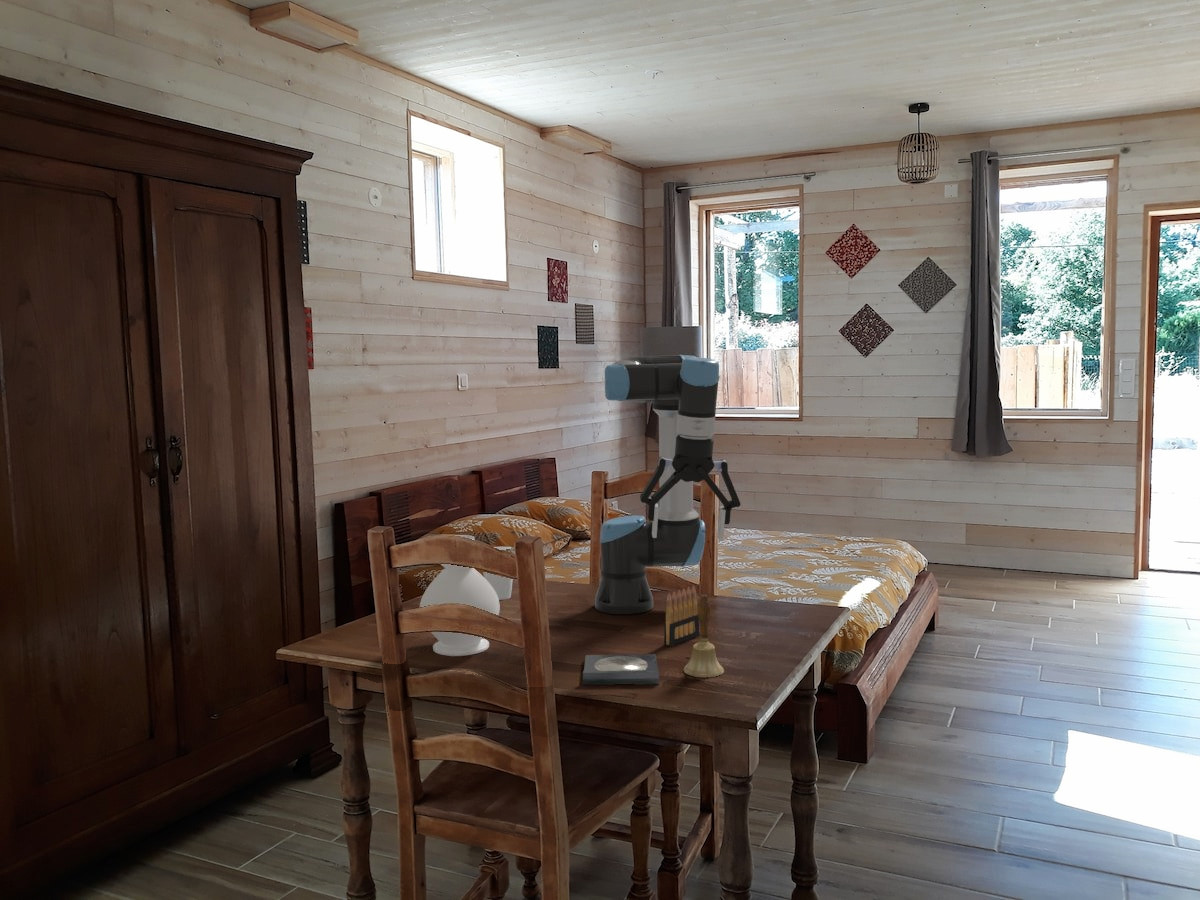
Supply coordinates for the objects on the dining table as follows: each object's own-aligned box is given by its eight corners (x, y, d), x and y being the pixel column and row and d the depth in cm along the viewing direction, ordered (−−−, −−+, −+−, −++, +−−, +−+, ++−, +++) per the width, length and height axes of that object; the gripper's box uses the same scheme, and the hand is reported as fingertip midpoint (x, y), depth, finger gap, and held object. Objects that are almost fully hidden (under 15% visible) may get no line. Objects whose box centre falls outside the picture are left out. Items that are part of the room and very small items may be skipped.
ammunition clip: (670, 646, 207) (669, 594, 206) (663, 645, 208) (663, 592, 207) (699, 635, 215) (699, 584, 214) (693, 634, 216) (692, 583, 215)
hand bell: (726, 665, 194) (725, 590, 192) (722, 679, 186) (721, 601, 184) (686, 663, 196) (685, 589, 194) (680, 676, 187) (679, 599, 186)
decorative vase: (433, 664, 198) (428, 549, 195) (412, 642, 214) (408, 535, 211) (511, 652, 205) (508, 540, 203) (486, 631, 221) (483, 528, 219)
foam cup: (475, 597, 254) (473, 550, 252) (502, 591, 260) (500, 545, 259) (495, 603, 247) (494, 555, 245) (523, 597, 253) (522, 550, 252)
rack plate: (585, 660, 199) (585, 649, 198) (655, 659, 198) (655, 648, 198) (583, 685, 184) (582, 672, 183) (659, 684, 183) (658, 671, 183)
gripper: (633, 436, 182) (627, 540, 186) (760, 442, 182) (751, 545, 187) (631, 429, 189) (625, 529, 193) (753, 435, 190) (744, 534, 194)
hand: (687, 537), depth 190 cm, fingers open, 13 cm apart
